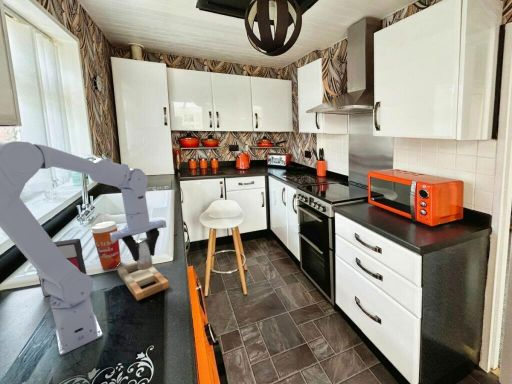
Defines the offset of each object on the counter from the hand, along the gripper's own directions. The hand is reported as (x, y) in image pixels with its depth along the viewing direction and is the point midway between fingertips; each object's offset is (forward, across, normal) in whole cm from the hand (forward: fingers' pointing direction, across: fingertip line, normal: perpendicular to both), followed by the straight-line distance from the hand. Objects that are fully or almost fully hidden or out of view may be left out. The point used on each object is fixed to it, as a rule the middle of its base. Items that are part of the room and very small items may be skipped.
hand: (144, 257), depth 77 cm
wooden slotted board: (+10, 0, -6) cm, 11 cm away
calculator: (+10, +18, -17) cm, 27 cm away
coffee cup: (+10, +4, -25) cm, 27 cm away
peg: (+3, 0, 0) cm, 3 cm away
